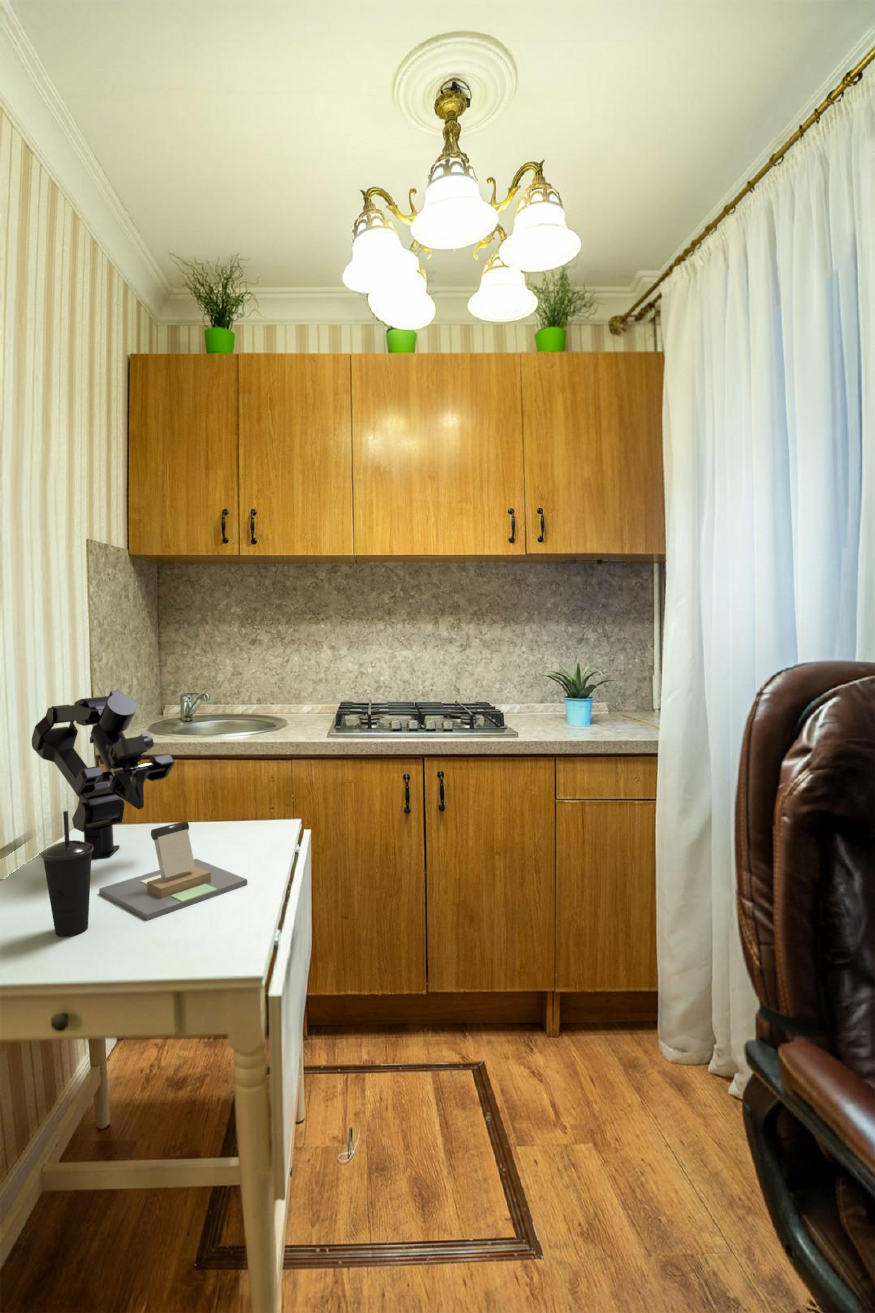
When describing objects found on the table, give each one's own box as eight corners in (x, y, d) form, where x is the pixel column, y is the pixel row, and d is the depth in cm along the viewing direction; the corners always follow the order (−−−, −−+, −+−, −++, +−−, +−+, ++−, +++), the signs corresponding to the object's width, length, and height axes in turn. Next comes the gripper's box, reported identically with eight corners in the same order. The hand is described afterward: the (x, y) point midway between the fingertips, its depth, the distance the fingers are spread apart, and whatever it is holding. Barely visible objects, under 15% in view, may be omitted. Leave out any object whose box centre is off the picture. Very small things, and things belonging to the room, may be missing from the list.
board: (99, 893, 133) (98, 879, 133) (196, 863, 148) (196, 850, 148) (147, 920, 121) (146, 904, 121) (247, 884, 136) (246, 870, 136)
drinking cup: (57, 921, 121) (51, 805, 120) (104, 919, 122) (98, 804, 121) (36, 942, 114) (29, 819, 112) (86, 939, 114) (80, 817, 113)
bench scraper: (159, 879, 131) (149, 830, 133) (192, 868, 136) (182, 821, 138) (164, 878, 130) (155, 828, 131) (197, 867, 135) (187, 820, 136)
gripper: (76, 728, 136) (105, 794, 130) (168, 715, 150) (198, 775, 144) (61, 763, 142) (88, 828, 136) (151, 748, 156) (179, 806, 150)
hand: (141, 808), depth 141 cm, fingers closed
